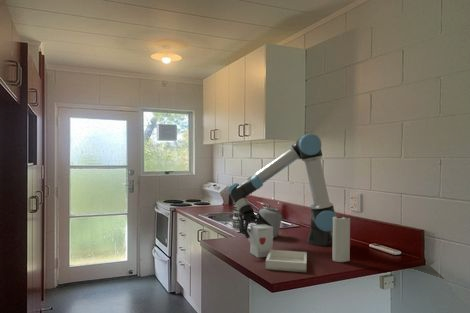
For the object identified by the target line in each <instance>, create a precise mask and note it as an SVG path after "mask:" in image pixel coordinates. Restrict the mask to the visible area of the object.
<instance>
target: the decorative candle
mask: <svg viewBox="0 0 470 313" xmlns="http://www.w3.org/2000/svg"><path fill="white" fill-rule="evenodd" d="M231 202H232V203H231V204H232V207H231V208H232V209H231V210H232V214H233V215H232V230H234V229H235V230H234V231H240V230H239V220H238V217H239V216H240V213H239V211H238V209H237V207H236V206H235V204H234V202H233V200H232V201H231ZM243 224H244V225H245V220H244V219H243Z"/></svg>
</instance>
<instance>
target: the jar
mask: <svg viewBox="0 0 470 313" xmlns="http://www.w3.org/2000/svg"><path fill="white" fill-rule="evenodd" d="M272 199H274V197H272ZM279 203H280V202H278V203H277V204H279ZM258 213H259V214H260V215H261V216H262V217H263V218H264V219H265V220H266V221H267V222H268V223H269V224H270V225H271V227H273V237H274V238H277V237H278V236H279V234H280V233H279V232H280V228H281V222H282V218H283V215H282V213H281V212H279V209H278V208H274V207H270V206H264V208H261V209H259V211H258ZM255 225H258V224H255Z"/></svg>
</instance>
